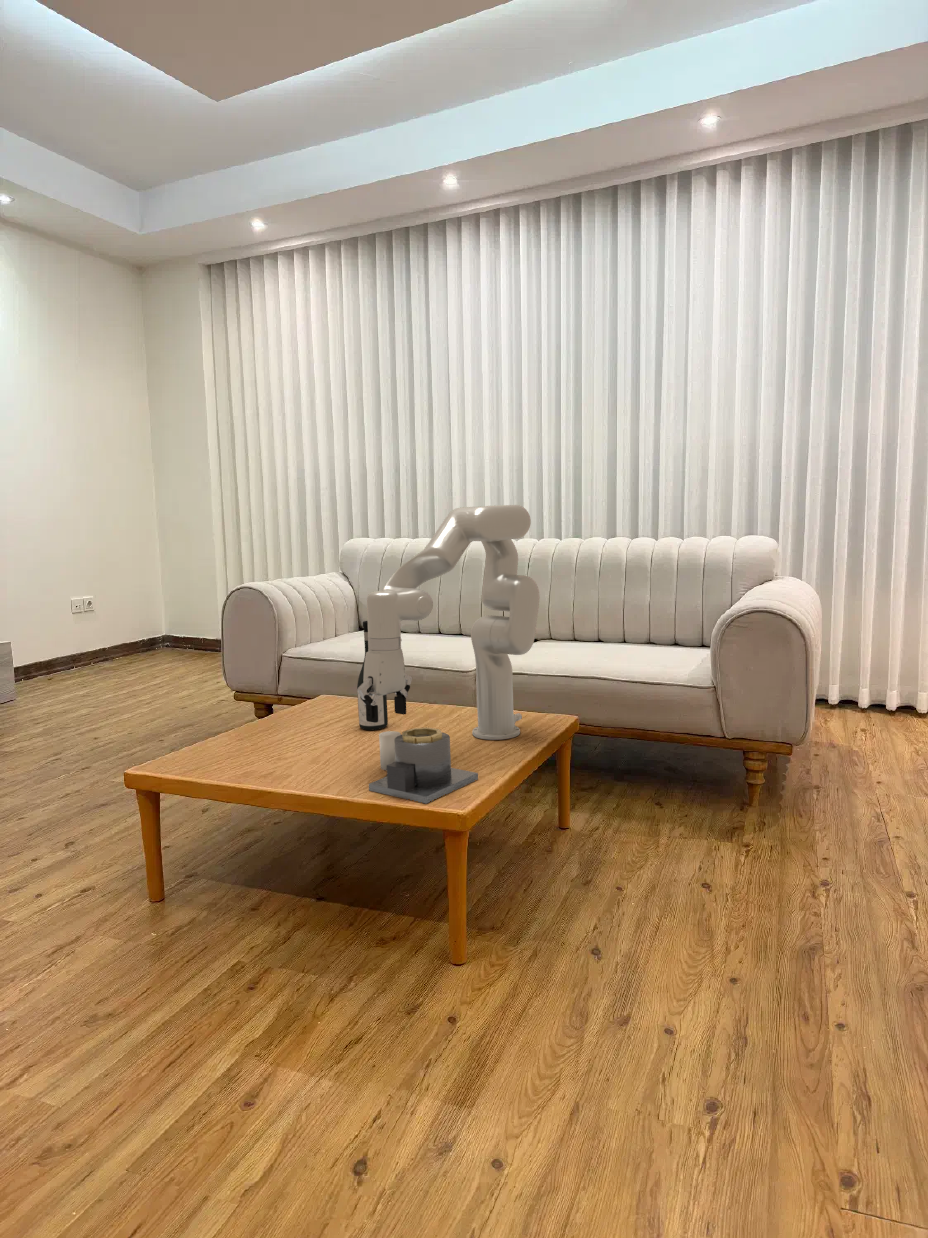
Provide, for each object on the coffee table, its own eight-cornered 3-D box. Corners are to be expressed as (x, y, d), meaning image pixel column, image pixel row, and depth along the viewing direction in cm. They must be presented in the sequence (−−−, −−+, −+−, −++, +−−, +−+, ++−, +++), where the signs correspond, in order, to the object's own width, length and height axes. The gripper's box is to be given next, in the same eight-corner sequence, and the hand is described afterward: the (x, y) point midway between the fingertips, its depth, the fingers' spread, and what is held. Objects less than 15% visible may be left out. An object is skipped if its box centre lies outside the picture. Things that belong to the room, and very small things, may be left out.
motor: (422, 768, 195) (420, 719, 193) (478, 779, 185) (476, 728, 183) (369, 790, 180) (366, 737, 179) (426, 803, 171) (423, 748, 169)
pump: (390, 762, 200) (389, 730, 199) (411, 767, 196) (410, 734, 195) (376, 768, 196) (374, 735, 195) (397, 773, 192) (396, 739, 191)
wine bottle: (383, 731, 229) (378, 622, 225) (355, 731, 230) (350, 623, 226) (391, 723, 237) (385, 618, 233) (363, 723, 238) (358, 619, 234)
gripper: (397, 639, 202) (399, 709, 204) (346, 648, 188) (348, 723, 190) (421, 641, 197) (422, 712, 199) (370, 650, 183) (372, 727, 185)
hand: (386, 717), depth 194 cm, fingers open, 9 cm apart
